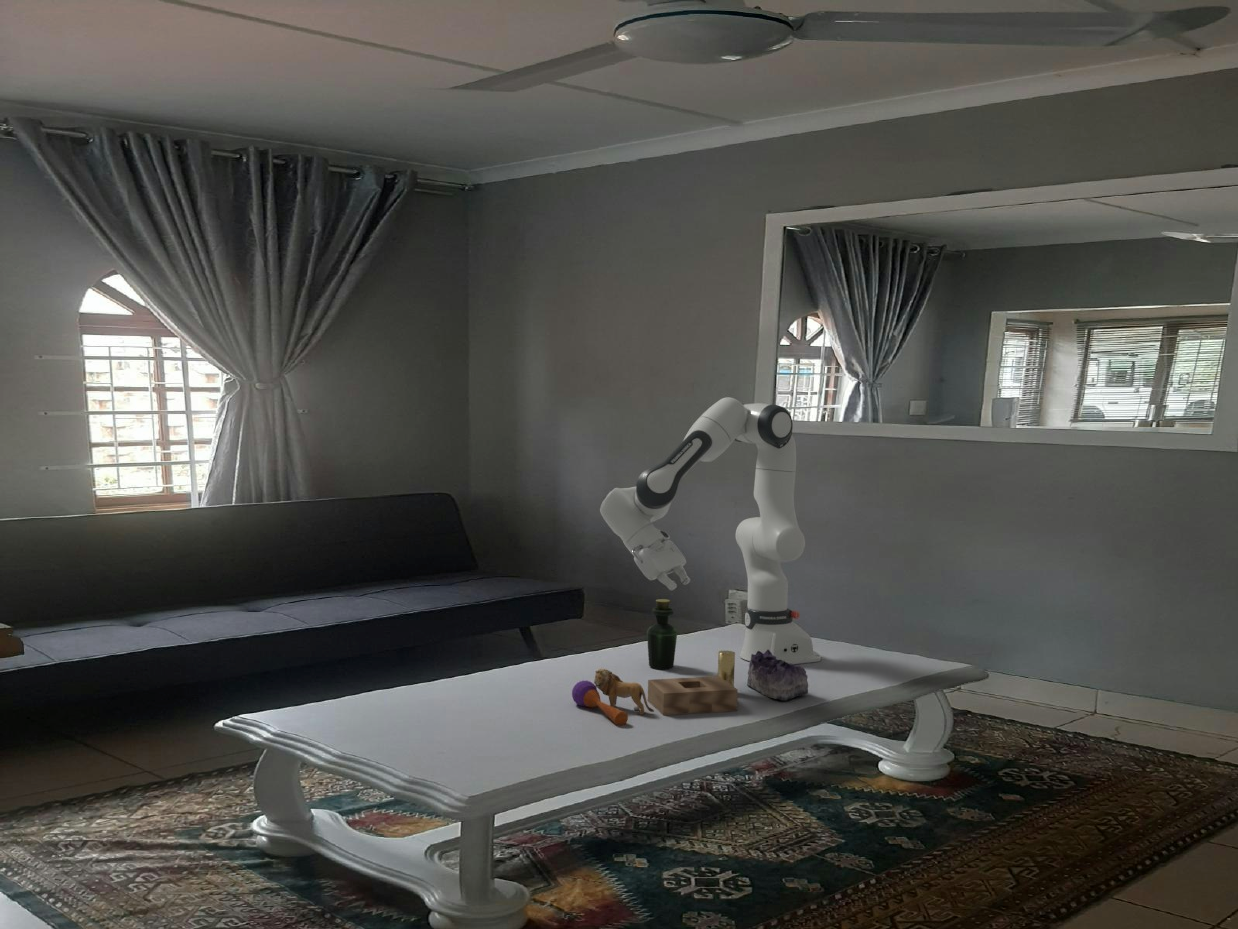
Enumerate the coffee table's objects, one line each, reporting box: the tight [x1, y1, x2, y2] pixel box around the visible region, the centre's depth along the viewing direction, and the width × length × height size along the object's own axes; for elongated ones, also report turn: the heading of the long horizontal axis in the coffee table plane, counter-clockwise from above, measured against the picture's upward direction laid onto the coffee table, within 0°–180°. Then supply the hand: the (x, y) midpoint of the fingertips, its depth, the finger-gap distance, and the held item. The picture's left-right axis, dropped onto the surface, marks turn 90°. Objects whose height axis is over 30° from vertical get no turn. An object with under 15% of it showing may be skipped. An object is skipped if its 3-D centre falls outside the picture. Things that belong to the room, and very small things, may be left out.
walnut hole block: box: [647, 675, 739, 716], centre depth 252 cm, size 18×12×5 cm, turn 105°
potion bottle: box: [646, 598, 678, 671], centre depth 287 cm, size 8×8×18 cm
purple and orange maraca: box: [571, 680, 629, 727], centre depth 244 cm, size 6×6×20 cm
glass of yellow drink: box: [717, 650, 736, 687], centre depth 264 cm, size 4×4×10 cm
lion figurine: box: [593, 668, 655, 716], centre depth 247 cm, size 15×5×9 cm, turn 70°
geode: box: [746, 649, 809, 702], centre depth 266 cm, size 20×12×10 cm, turn 26°
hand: (681, 585), depth 268 cm, fingers open, 8 cm apart
